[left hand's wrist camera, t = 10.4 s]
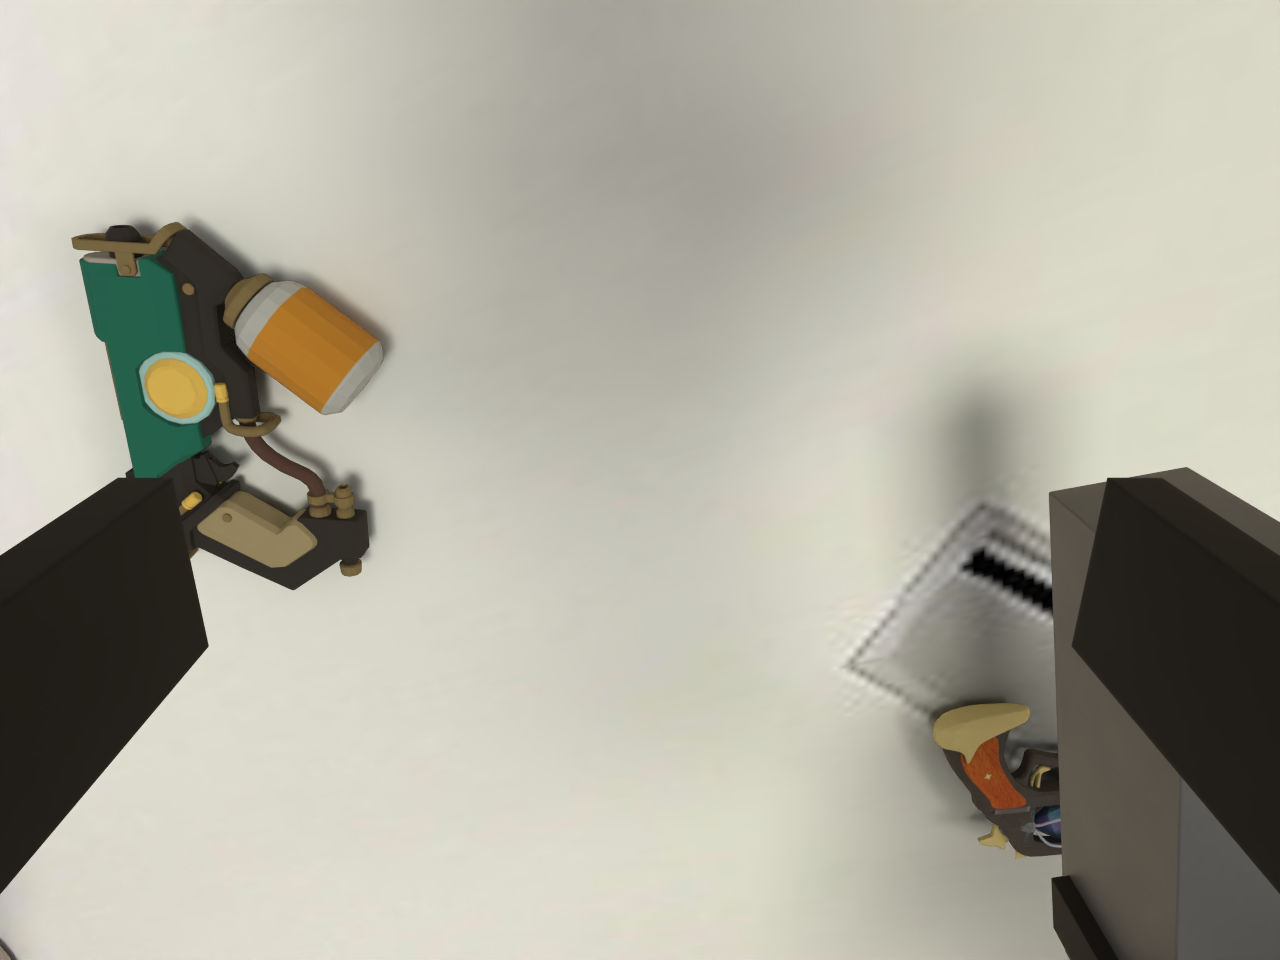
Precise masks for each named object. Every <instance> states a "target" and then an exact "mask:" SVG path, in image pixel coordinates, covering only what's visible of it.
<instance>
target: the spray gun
mask: <svg viewBox="0 0 1280 960" xmlns="http://www.w3.org/2000/svg"><path fill="white" fill-rule="evenodd" d="M71 239H72V244H73V248H74V249H77V250H91V251H108V252H94V253H89V254H86V255H84V257H83V258H81V259H80V266H81V271H82V275H83V280H84V285H85V290H86V294H87V299H88V304H89V309H90V313H91V318H92V323H93V328H94V332H95V334H96V336H97V337H98V338H99V339H100V340H101V341H102V342H105V345H106V350H107V355H108V359H109V364H110V369H111V373H112V378H113V382H114V387H115V392H116V396H117V401H118V405H119V410H120V415H121V419H122V420H123V424H124V428H125V433H126V438H127V442H128V447H129V452H130V456H131V461H132V466H133V468H132V469H130V470H129V471H128V472H126V478H173V482H174V487H175V491H176V496H177V501H178V505H179V510H180V515H181V519H182V524H183V529H184V533H185V538H186V543H187V547H188V552H189V557H190V558H192V556H193V555H194V554H195V553H196V552H197V551H198V549H199V548H201V549H203V550H206V551H208V552H210V553H212V554H214V555H216V556H218V557H220V558H223V559H225V560H227V561H229V562H231V563H233V564H235V565H237V566H240V567H242V568H244V569H246V570H248V571H251V572H253V573H255V574H257V575H260V576H262V577H264V578H266V579H269V580H271V581H273V582H275V583H278V584H280V585H282V586H284V587H286V588H289V589H291V590H295V589H297V588H298V587H300V586H301V585H303V584H304V583H306V582H307V581H309V580H310V579H312V578H313V577H315V576H316V575H318V574H319V573H321V572H322V571H324V570H325V569H327V568H329V567H330V566H332V565H333V564H335V563H336V562H338V561H339V560H342V561H341V562H340V569H341V573H342V574H343V575H344V576H355V575H358V574H359V573H360V572H361V570H362V561H361V560H360V559H358V558H361V557H362V556H363V554H364V553H365V552H366V550H367V549H368V547H369V536H368V524H367V513H366V511H365V510H355V509H354V508H353V507H352V505H353V503H354V502H355V501H354V493H353V492H352V490H351V487H350V486H348V485H340V486H338V487H337V488H336V489H335V493H331V492H328V490H327V489H325V487H324V485H323V483H322V481H321V479H320V478H319V477H318V476H317V475H316V474H315V473H314V472H313V471H311V470H310V469H308V468H306V467H304V466H302V465H300V464H297V463H295V462H293V461H291V460H289V459H287V458H286V457H284V456H282V455H281V454H279V453H277V452H276V451H275V450H273V449H272V448H271V447H270V446H269V445H268V444H267V443H266V442H265V441H264V440H263V439H262V437H261V436H264V435H266V434H267V433H269V432H271V431H272V430H274V429H275V428H276V427H277V426H278V425H279V423H280V422H281V418H280V416H279V415H277V414H274V413H267V412H260V408H259V401H258V394H257V387H256V379H255V372H254V368H253V367H252V366H251V364H250V363H249V362H248V361H247V360H246V359H245V357H244V356H243V355H242V354H241V353H240V352H239V350H238V349H237V348H236V347H235V346H234V345H233V343H232V342H231V340H230V335H229V330H228V326H229V327H231V328H232V329H235V336H236V344H237V345H238V347H239V348H240V349H241V351H242V352H243V353H244V354H245V355H246V357H247V358H248V359H249V360H250V361H251V362H253V363H254V364H255V365H257V366H258V367H259V368H261V369H262V370H263V371H265V372H266V373H267V374H269V375H270V376H271V377H273V378H274V379H275V380H277V381H278V382H279V383H281V384H282V385H283V386H285V387H286V388H287V389H289V390H290V391H291V392H293V393H294V394H295V395H297V396H298V397H299V398H301V399H302V400H303V401H305V402H306V403H307V404H309V405H310V406H311V407H313V408H314V409H315V410H316V411H318V412H319V413H320V414H323V415H328V414H334V413H340V412H343V411H344V410H345V409H346V408H347V406H348V405H349V404H350V403H351V402H352V401H353V400H354V399H355V397H356V396H357V395H358V394H359V393H360V391H361V390H362V389H363V388H364V387H365V385H366V384H367V383H368V381H369V380H370V379H371V378H372V376H373V375H374V373H375V372H376V371H377V369H378V368H379V366H380V365H381V363H382V361H383V351H382V345H381V343H380V341H379V340H377V339H376V338H375V337H373V336H372V335H371V334H369V333H368V332H367V331H365V330H364V329H363V328H361V327H360V326H359V325H357V324H356V323H355V322H353V321H352V320H351V319H349V318H348V317H347V316H345V315H344V314H343V313H341V312H340V311H339V310H337V309H336V308H335V307H333V306H332V305H331V304H329V303H328V302H327V301H325V300H324V299H323V298H321V297H320V296H318V295H317V294H316V293H314V292H313V291H312V290H310V289H309V288H308V287H306V286H304V285H301V284H299V283H297V282H294V281H292V280H291V281H281V282H273V280H272V279H271V278H270V277H268V276H267V275H266V274H258V275H256V276H253V277H251V278H249V279H244V278H243V276H242V275H241V274H240V273H239V271H238V270H237V269H236V268H235V267H233V266H232V265H231V264H230V263H229V262H227V261H226V260H225V259H224V258H222V257H221V256H220V255H219V254H218V253H216V252H215V251H214V250H213V249H212V248H210V247H209V246H208V245H207V244H206V243H204V242H203V241H202V240H201V239H200V238H198V237H197V236H196V235H195V234H193V233H192V232H191V231H190V230H187V229H186V228H185V227H184V226H183V225H181V224H180V223H178V222H174V223H170V224H168V225H166V226H164V227H162V228H161V229H160V230H159V231H158V232H157V233H156V235H155V236H140V233H139V232H138V231H137V230H136V229H135V228H133V227H132V226H129V225H115V226H111V227H109V229H108V231H107V232H106V233H94V234H84V235H80V236H76V237H73V238H71ZM161 247H168V249H167V251H166V252H165V251H161V252H158V250H159V249H160V248H161ZM157 252H158V253H157ZM224 303H225V309H224ZM234 418H236V420H237V421H238V422H239V424H240V425H235V424H234V423H233V421H232V420H233V419H234ZM255 422H265V423H264V424H262V425H260V426H256V423H255ZM222 426H223V427H224V428H225V429H226V430H227V432H229V433H231V434H234V435H237V436H242V437H244V438H245V440H246V442H247V443H248V445H249V446H250V448H251V449H252V450H253V451H254V452H255V453H256V454H257V455H258V456H259V457H260V458H261V459H262V460H263V461H265V462H267V463H268V464H270V465H271V466H273V467H274V468H276V469H278V470H279V471H281V472H283V473H285V474H287V475H289V476H292V477H294V478H296V479H298V480H300V481H302V482H303V483H304V484H306V485H307V486H308V488H309V490H310V491H309V492H308V493H307V498H308V503H309V504H311V505H312V506H310V507H308V508H307V509H302V510H300V511H299V512H298V513H297V514H296V515H295V516H293V517H292V518H291V517H289V516H288V515H286V514H284V513H282V512H281V511H279V510H277V509H275V508H274V507H272V506H270V505H268V504H267V503H265V502H263V501H261V500H260V499H258V498H256V497H254V496H253V495H251V494H249V493H247V492H243V491H237V490H238V489H239V488H240V483H239V481H237V480H231V481H230V482H229V483H228V484H226V485H225V486H224V487H223V488H219V487H218V486H219V485H221V483H222V482H223V481H226V480H228V479H229V478H231V477H232V476H233V475H234V474H235V472H236V471H237V469H238V467H239V465H238V464H237V463H235V462H233V463H231V464H223V463H221V462H220V461H218V460H217V459H216V458H215V457H213V456H212V454H211V453H210V452H209V451H206V452H204V453H203V454H202V455H201V454H200V451H202V450H203V449H204V448H206V447H207V446H208V445H210V444H211V442H212V440H211V433H213V432H215V431H216V430H218V429H219V428H221V427H222ZM327 503H335V505H336V506H337V507H338V508H331V506H330V505H329V504H327Z"/></svg>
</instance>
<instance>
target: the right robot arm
mask: <svg viewBox="0 0 1280 960" xmlns="http://www.w3.org/2000/svg"><path fill="white" fill-rule="evenodd" d="M1051 879H1052V902H1053V924H1054V929H1055V931H1056V933H1057V935H1058V937H1059V939H1060V940H1061V942H1062V944H1063V946H1064V948H1065V950H1066V952H1067V954H1068V956H1069V957H1070V959H1071V960H1118V958H1117V956H1116V955H1115V953H1114V951H1113V949H1112V948H1111V946H1110V944H1109V943H1108V941H1107V939H1106V937H1105V936H1104V934H1103V932H1102V931H1101V929H1100V927H1099V926H1098V924H1097V922H1096V920H1095V919H1094V917H1093V915H1092V914H1091V912H1090V910H1089V908H1088V907H1087V905H1086V903H1085V902H1084V900H1083V898H1082V897H1081V895H1080V893H1079V891H1078V890H1077V888H1076V886H1075V885H1074V883H1073V881H1072V879H1071V878H1070V876H1069V875H1068V876H1061V877H1054V878H1051Z"/></svg>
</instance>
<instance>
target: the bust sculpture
mask: <svg viewBox="0 0 1280 960" xmlns="http://www.w3.org/2000/svg"><path fill="white" fill-rule="evenodd" d="M0 960H11V958H10V957H9V956H8V954H7V953H6V952H5V951H4V949H3V948H2V947H1V946H0Z"/></svg>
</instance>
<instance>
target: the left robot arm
mask: <svg viewBox="0 0 1280 960" xmlns="http://www.w3.org/2000/svg"><path fill="white" fill-rule="evenodd" d="M208 646H209V645H208V641H207V636H206V631H205V627H204V622H203V617H202V613H201V608H200V603H199V599H198V594H197V589H196V585H195V580H194V575H193V571H192V566H191V561H190V557H189V552H188V547H187V543H186V538H185V533H184V529H183V524H182V519H181V515H180V510H179V505H178V501H177V496H176V491H175V487H174V482H173V478H117V479H115V480H114V481H112V482H111V483H109V484H108V485H106V486H105V487H103V488H102V489H100V490H99V491H97V492H96V493H94V494H93V495H91V496H90V497H88V498H87V499H85V500H84V501H82V502H81V503H79V504H78V505H76V506H75V507H73V508H72V509H70V510H68V511H67V512H65V513H64V514H62V515H61V516H59V517H58V518H56V519H55V520H53V521H52V522H50V523H49V524H47V525H46V526H44V527H43V528H41V529H40V530H38V531H37V532H35V533H34V534H32V535H31V536H29V537H28V538H26V539H25V540H23V541H22V542H20V543H18V544H17V545H15V546H14V547H12V548H11V549H9V550H8V551H6V552H5V553H3V554H2V555H0V894H1V893H2V891H3V890H4V889H5V888H6V887H7V886H8V884H9V883H10V882H11V881H12V880H13V878H14V877H15V876H16V875H17V874H18V872H19V871H20V870H21V869H22V868H23V867H24V865H25V864H26V863H27V862H28V861H29V859H30V858H31V857H32V856H33V855H34V853H35V852H36V851H37V850H38V849H39V847H40V846H41V845H42V844H43V843H44V842H45V840H46V839H47V838H48V837H49V836H50V834H51V833H52V832H53V831H54V830H55V828H56V827H57V826H58V825H59V824H60V823H61V821H62V820H63V819H64V818H65V817H66V815H67V814H68V813H69V812H70V811H71V809H72V808H73V807H74V806H75V805H76V803H77V802H78V801H79V800H80V799H81V798H82V796H83V795H84V794H85V793H86V792H87V790H88V789H89V788H90V787H91V786H92V784H93V783H94V782H95V781H96V780H97V779H98V777H99V776H100V775H101V774H102V773H103V771H104V770H105V769H106V768H107V767H108V765H109V764H110V763H111V762H112V761H113V759H114V758H115V757H116V756H117V755H118V754H119V752H120V751H121V750H122V749H123V748H124V746H125V745H126V744H127V743H128V742H129V740H130V739H131V738H132V737H133V736H134V735H135V733H136V732H137V731H138V730H139V729H140V727H141V726H142V725H143V724H144V723H145V721H146V720H147V719H148V718H149V717H150V715H151V714H152V713H153V712H154V711H155V710H156V708H157V707H158V706H159V705H160V704H161V702H162V701H163V700H164V699H165V698H166V696H167V695H168V694H169V693H170V692H171V690H172V689H173V688H174V687H175V686H176V685H177V683H178V682H179V681H180V680H181V679H182V677H183V676H184V675H185V674H186V673H187V671H188V670H189V669H190V668H191V667H192V666H193V664H194V663H195V662H196V661H197V660H198V658H199V657H200V656H201V655H202V654H203V652H204V651H205V650H206V649H207V648H208ZM1071 646H1072V648H1073V649H1074V650H1075V651H1076V652H1077V654H1078V655H1079V656H1080V657H1081V658H1082V660H1083V661H1084V662H1085V663H1086V664H1087V666H1088V667H1089V668H1090V669H1091V670H1092V671H1093V673H1094V674H1095V675H1096V676H1097V677H1098V679H1099V680H1100V681H1101V682H1102V683H1103V685H1104V686H1105V687H1106V688H1107V689H1108V690H1109V692H1110V693H1111V694H1112V695H1113V696H1114V698H1115V699H1116V700H1117V701H1118V702H1119V704H1120V705H1121V706H1122V707H1123V708H1124V710H1125V711H1126V712H1127V713H1128V714H1129V715H1130V717H1131V718H1132V719H1133V720H1134V721H1135V723H1136V724H1137V725H1138V726H1139V727H1140V729H1141V730H1142V731H1143V732H1144V733H1145V735H1146V736H1147V737H1148V738H1149V739H1150V740H1151V742H1152V743H1153V744H1154V745H1155V746H1156V748H1157V749H1158V750H1159V751H1160V752H1161V754H1162V755H1163V756H1164V757H1165V758H1166V759H1167V761H1168V762H1169V763H1170V764H1171V765H1172V767H1173V768H1174V769H1175V770H1176V771H1177V773H1178V774H1179V775H1180V776H1181V777H1182V779H1183V780H1184V781H1185V782H1186V783H1187V784H1188V786H1189V787H1190V788H1191V789H1192V790H1193V792H1194V793H1195V794H1196V795H1197V796H1198V798H1199V799H1200V800H1201V801H1202V802H1203V803H1204V805H1205V806H1206V807H1207V808H1208V809H1209V811H1210V812H1211V813H1212V814H1213V815H1214V817H1215V818H1216V819H1217V820H1218V821H1219V823H1220V824H1221V825H1222V826H1223V827H1224V828H1225V830H1226V831H1227V832H1228V833H1229V834H1230V836H1231V837H1232V838H1233V839H1234V840H1235V842H1236V843H1237V844H1238V845H1239V846H1240V847H1241V849H1242V850H1243V851H1244V852H1245V853H1246V855H1247V856H1248V857H1249V858H1250V859H1251V861H1252V862H1253V863H1254V864H1255V865H1256V867H1257V868H1258V869H1259V870H1260V871H1261V872H1262V874H1263V875H1264V876H1265V877H1266V878H1267V880H1268V881H1269V882H1270V883H1271V884H1272V886H1273V887H1274V888H1275V889H1276V890H1277V891H1278V893H1279V894H1280V555H1278V554H1277V553H1275V552H1274V551H1272V550H1271V549H1269V548H1268V547H1266V546H1265V545H1263V544H1262V543H1260V542H1258V541H1257V540H1255V539H1254V538H1252V537H1251V536H1249V535H1248V534H1246V533H1245V532H1243V531H1242V530H1240V529H1239V528H1237V527H1236V526H1234V525H1233V524H1231V523H1230V522H1228V521H1227V520H1225V519H1224V518H1222V517H1221V516H1219V515H1218V514H1216V513H1215V512H1213V511H1212V510H1210V509H1208V508H1207V507H1205V506H1204V505H1202V504H1201V503H1199V502H1198V501H1196V500H1195V499H1193V498H1192V497H1190V496H1189V495H1187V494H1186V493H1184V492H1183V491H1181V490H1180V489H1178V488H1177V487H1175V486H1174V485H1172V484H1171V483H1169V482H1168V481H1166V480H1165V479H1163V478H1107V482H1106V487H1105V491H1104V496H1103V501H1102V505H1101V510H1100V515H1099V519H1098V524H1097V529H1096V533H1095V538H1094V543H1093V547H1092V552H1091V557H1090V561H1089V566H1088V571H1087V575H1086V580H1085V585H1084V589H1083V594H1082V599H1081V603H1080V608H1079V613H1078V617H1077V622H1076V627H1075V631H1074V636H1073V641H1072V645H1071Z"/></svg>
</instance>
